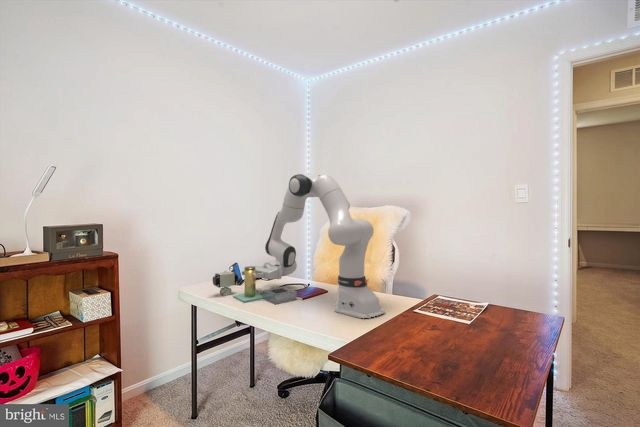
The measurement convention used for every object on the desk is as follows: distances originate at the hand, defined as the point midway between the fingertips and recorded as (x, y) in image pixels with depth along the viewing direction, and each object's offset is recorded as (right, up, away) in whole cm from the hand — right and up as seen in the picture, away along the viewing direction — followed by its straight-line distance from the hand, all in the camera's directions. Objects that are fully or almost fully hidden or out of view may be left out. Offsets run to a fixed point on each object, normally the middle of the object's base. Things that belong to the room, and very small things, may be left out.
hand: (248, 274), depth 162 cm
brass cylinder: (+1, -11, +1) cm, 11 cm away
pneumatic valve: (-13, -11, +7) cm, 19 cm away
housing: (+15, -11, -1) cm, 19 cm away
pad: (+1, -11, +1) cm, 12 cm away
